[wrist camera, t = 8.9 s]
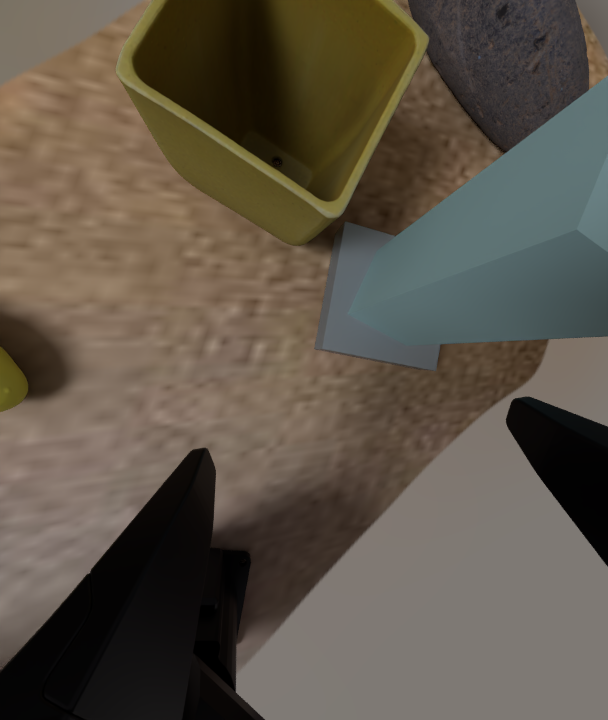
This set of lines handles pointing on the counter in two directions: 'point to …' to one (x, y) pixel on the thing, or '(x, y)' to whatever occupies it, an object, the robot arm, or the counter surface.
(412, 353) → the tile
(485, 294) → the pillar
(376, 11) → the flower pot
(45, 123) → the counter surface
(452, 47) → the perforated stone tool
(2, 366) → the lemon
